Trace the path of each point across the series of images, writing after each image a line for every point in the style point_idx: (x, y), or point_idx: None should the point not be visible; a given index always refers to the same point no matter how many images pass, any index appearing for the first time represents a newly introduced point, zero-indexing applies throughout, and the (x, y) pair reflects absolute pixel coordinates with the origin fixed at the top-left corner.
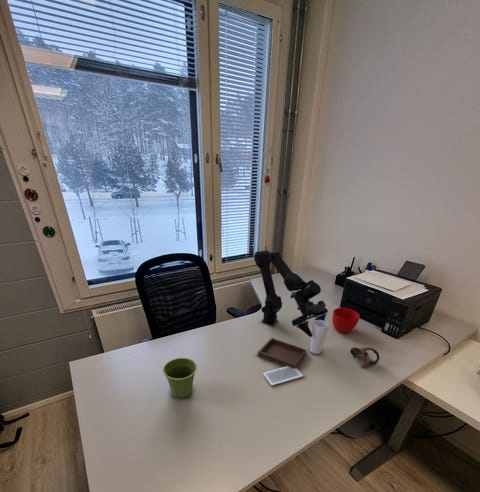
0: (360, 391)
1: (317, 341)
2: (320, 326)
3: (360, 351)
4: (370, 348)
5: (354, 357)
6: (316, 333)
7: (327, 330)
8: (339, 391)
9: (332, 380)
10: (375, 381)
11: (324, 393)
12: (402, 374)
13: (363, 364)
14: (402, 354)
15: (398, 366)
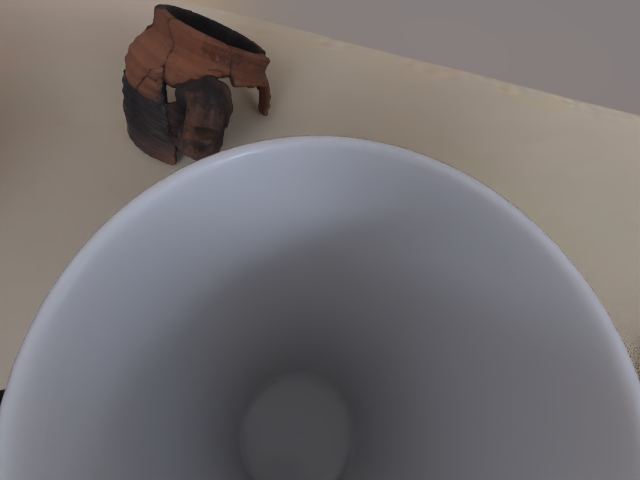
0: (455, 100)
1: (399, 384)
2: (136, 468)
3: (212, 77)
4: (169, 13)
5: (219, 150)
6: (487, 402)
7: (332, 209)
8: (540, 159)
9: None
10: (338, 70)
11: (622, 204)
12: (206, 10)
13: (266, 102)
14: (13, 12)
15: (148, 20)
